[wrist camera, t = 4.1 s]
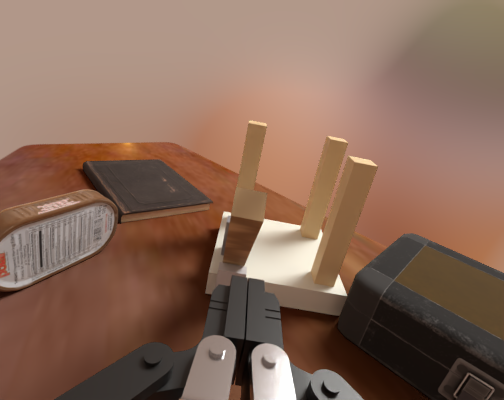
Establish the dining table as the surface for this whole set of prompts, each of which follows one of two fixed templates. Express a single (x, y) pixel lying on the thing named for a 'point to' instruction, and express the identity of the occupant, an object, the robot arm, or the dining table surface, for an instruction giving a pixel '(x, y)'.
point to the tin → (52, 236)
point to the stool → (301, 232)
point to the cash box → (431, 319)
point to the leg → (244, 225)
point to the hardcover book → (144, 189)
